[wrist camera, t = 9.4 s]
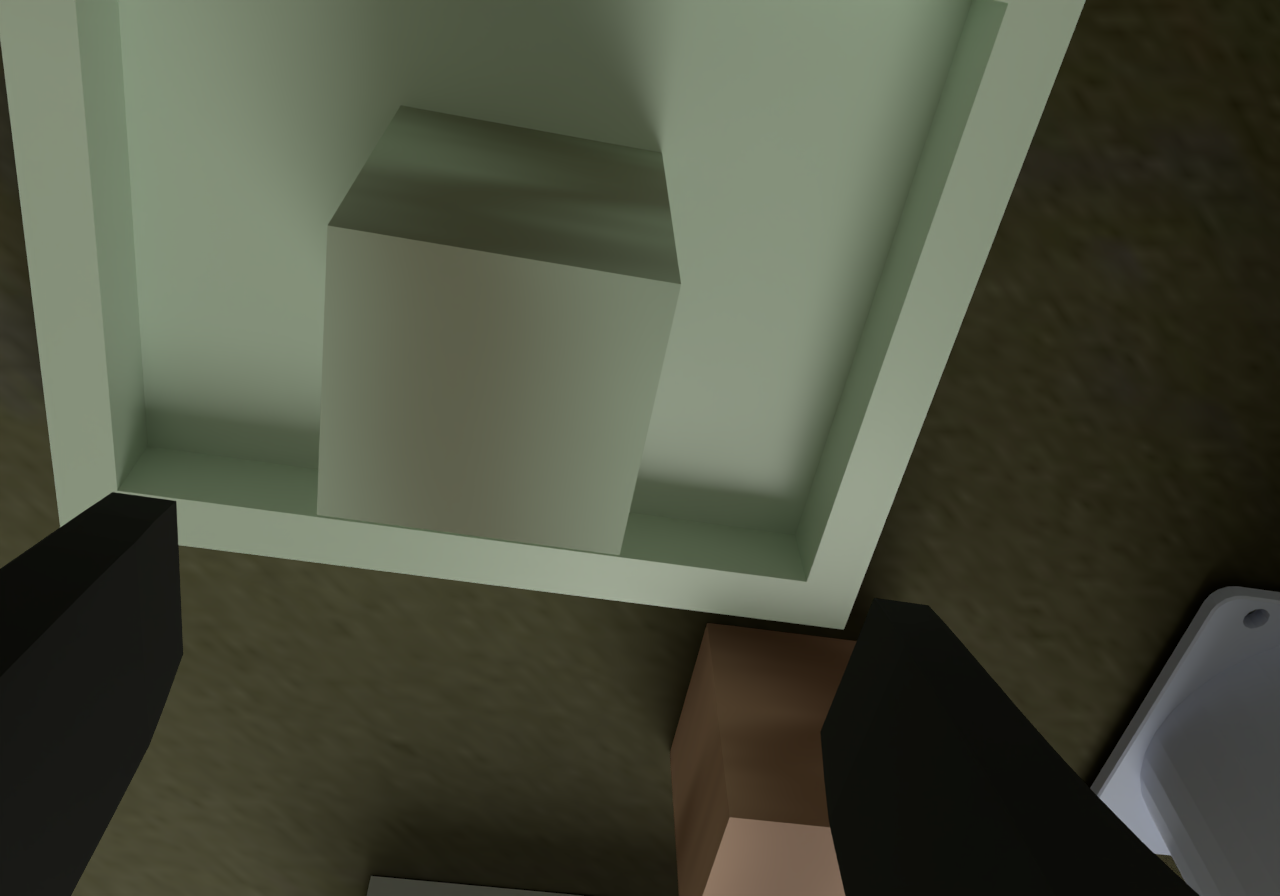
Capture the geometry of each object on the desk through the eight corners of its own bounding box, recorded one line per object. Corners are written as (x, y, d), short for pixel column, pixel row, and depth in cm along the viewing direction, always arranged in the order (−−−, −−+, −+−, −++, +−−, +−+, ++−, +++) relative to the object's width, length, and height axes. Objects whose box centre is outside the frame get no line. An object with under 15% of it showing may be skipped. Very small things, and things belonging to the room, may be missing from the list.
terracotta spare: (887, 643, 23) (950, 839, 19) (836, 768, 25) (882, 970, 21) (707, 621, 23) (729, 817, 18) (669, 750, 25) (682, 953, 20)
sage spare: (662, 152, 17) (681, 283, 12) (616, 376, 19) (619, 555, 14) (400, 105, 16) (326, 225, 12) (383, 341, 18) (317, 514, 14)
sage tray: (1054, -82, 15) (1109, -63, 14) (825, 562, 22) (843, 629, 20) (36, -303, 14) (-43, -313, 12) (106, 465, 20) (60, 529, 18)
